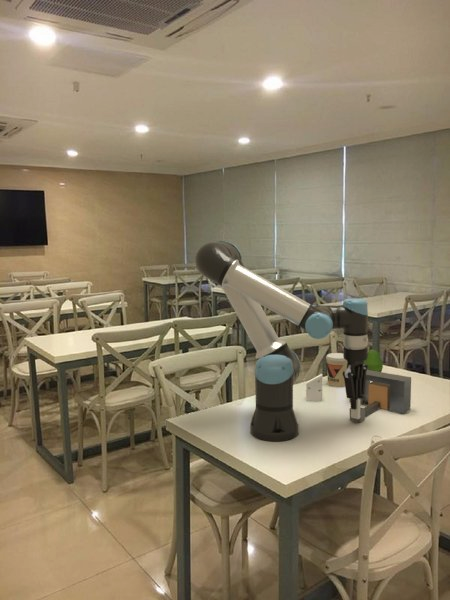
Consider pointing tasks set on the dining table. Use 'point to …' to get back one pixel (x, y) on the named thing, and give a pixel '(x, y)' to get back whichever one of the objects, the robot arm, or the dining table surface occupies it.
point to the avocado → (374, 361)
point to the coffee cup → (336, 369)
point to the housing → (391, 390)
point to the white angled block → (314, 389)
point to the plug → (375, 400)
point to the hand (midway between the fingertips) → (355, 417)
